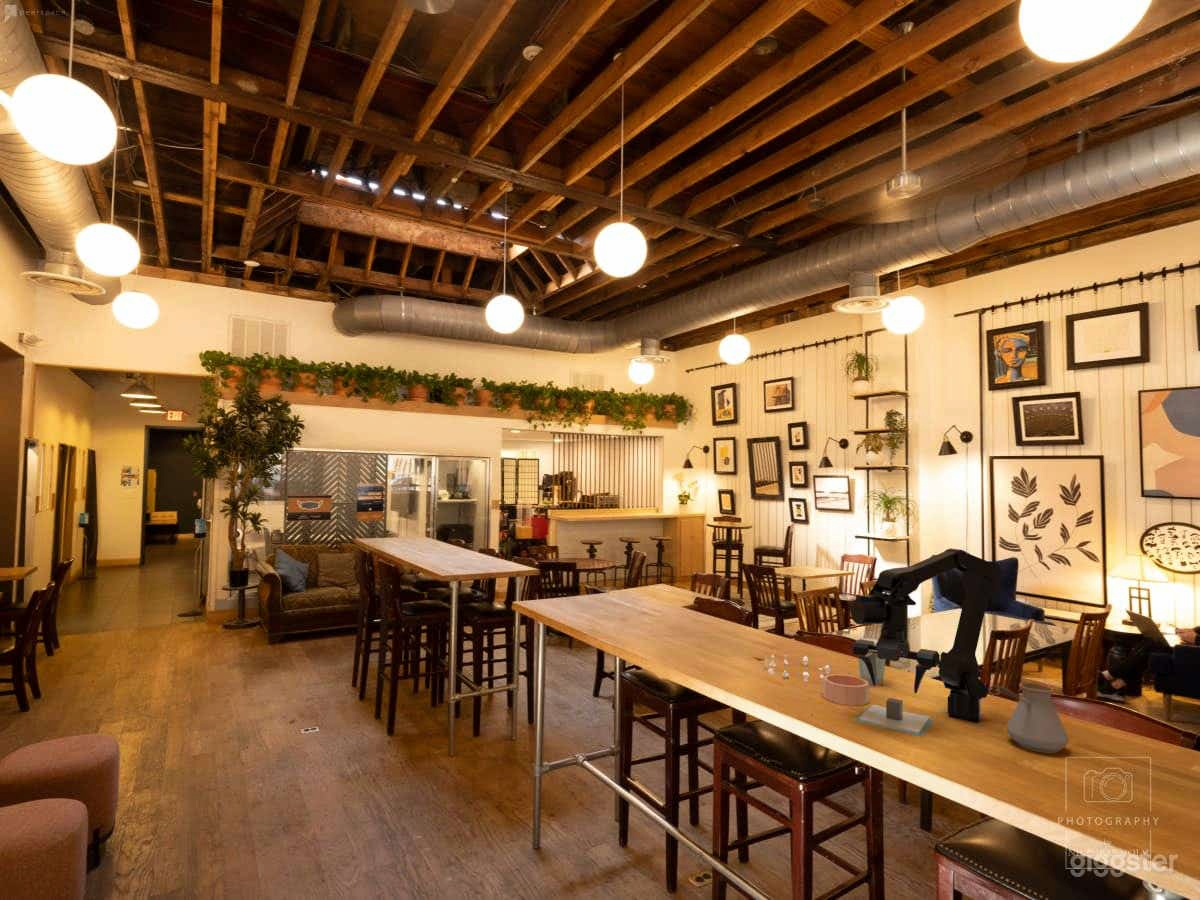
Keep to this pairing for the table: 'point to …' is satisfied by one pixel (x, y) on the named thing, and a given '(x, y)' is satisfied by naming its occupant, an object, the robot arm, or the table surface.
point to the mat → (898, 730)
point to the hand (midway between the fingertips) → (894, 688)
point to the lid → (895, 717)
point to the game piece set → (803, 673)
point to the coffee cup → (879, 667)
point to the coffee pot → (1035, 719)
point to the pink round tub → (846, 689)
